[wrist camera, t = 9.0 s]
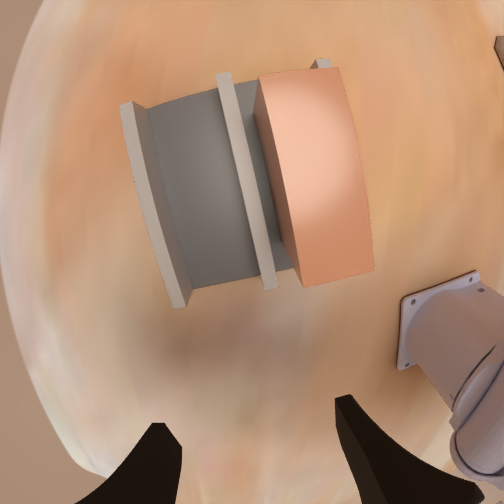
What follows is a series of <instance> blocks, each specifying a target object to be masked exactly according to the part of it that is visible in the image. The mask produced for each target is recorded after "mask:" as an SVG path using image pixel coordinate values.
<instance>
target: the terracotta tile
mask: <svg viewBox="0 0 504 504" xmlns="http://www.w3.org/2000/svg"><path fill="white" fill-rule="evenodd" d="M253 117H254V121H255V125H256V129H257V134H258V138H259V142H260V146H261V151H262V155H263V160H264V164H265V169H266V173H267V178H268V182H269V187H270V191H271V196H272V201H273V206H274V210H275V215H276V220H277V225H278V230H279V235H280V240H281V243H282V245H283V247H284V249H285V251H286V253H287V255H288V257H289V259H290V261H291V263H292V265H293V267H294V269H295V272H296V274H297V276H298V278H299V280H300V282H301V284H302V286H303V288H306V287H310V286H315V285H319V284H323V283H327V282H331V281H335V280H339V279H343V278H347V277H351V276H355V275H359V274H362V273H366V272H370V271H374V256H373V243H372V233H371V223H370V214H369V206H368V199H367V192H366V185H365V179H364V173H363V167H362V161H361V156H360V151H359V146H358V141H357V136H356V131H355V127H354V123H353V118H352V114H351V110H350V106H349V102H348V98H347V95H346V91H345V87H344V84H343V80H342V77H341V74H340V70H339V67H331V68H316V69H304V70H295V71H286V72H279V73H272V74H265V75H259V76H258V82H257V89H256V95H255V102H254V109H253Z"/></svg>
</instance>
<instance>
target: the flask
mask: <svg viewBox="0 0 504 504" xmlns="http://www.w3.org/2000/svg"><path fill="white" fill-rule="evenodd" d="M495 49H496V51H497V53H498V55H499V58H500V60H501V62H502V65H503V67H504V36H497V41H496V46H495Z"/></svg>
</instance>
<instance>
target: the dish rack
mask: <svg viewBox="0 0 504 504" xmlns="http://www.w3.org/2000/svg"><path fill="white" fill-rule="evenodd" d="M331 67H332V64H331V61H330V58H329V59H316V60H315V61H314V63H313V64H312V66H311V67H310V69H316V68H331ZM215 77H216V81H217V86H218V88H216V89H212V90H208V91H204V92H200V93H197V94H193V95H189V96H186V97H182V98H179V99H176V100H173V101H170V102H166V103H163V104H160V105H157V106H154V107H152V108H149V109H146V108H144V107H142V106H141V105H139V104H137V103H135V102H133V101H130V102H128V103H125V104H123V105H120V106H119V108H120V114H121V120H122V125H123V131H124V136H125V141H126V146H127V151H128V155H129V160H130V164H131V169H132V173H133V177H134V182H135V186H136V190H137V194H138V198H139V201H140V205H141V209H142V213H143V216H144V220H145V223H146V227H147V230H148V234H149V237H150V240H151V244H152V247H153V250H154V253H155V256H156V260H157V263H158V266H159V269H160V272H161V275H162V278H163V281H164V284H165V286H166V289H167V292H168V295H169V298H170V300H171V303H172V306H173V309H177V308H183V307H186V306H187V304H188V301H189V299H190V296H191V294H192V291H193V289H196V288H201V287H206V286H211V285H216V284H221V283H226V282H231V281H235V280H240V279H245V278H249V277H254V276H259V275H261V276H262V281H263V285H264V290H265V291H268V290H272V289H277V288H279V286H278V281H277V276H276V272H277V271H281V270H286V269H290V268H294V267H293V265H292V263H291V261H290V259H289V257H288V255H287V253H286V251H285V249H284V247H283V245H282V243H281V240H280V235H279V230H278V225H277V220H276V215H275V210H274V206H273V201H272V196H271V191H270V187H269V182H268V178H267V173H266V169H265V164H264V160H263V155H262V151H261V146H260V142H259V138H258V134H257V129H256V125H255V121H254V117H253V109H254V102H255V95H256V89H257V82H258V80H254V81H249V82H243V83H238V84H233V80H232V76H231V72H230V71H229V72H224V73H220V74H215Z"/></svg>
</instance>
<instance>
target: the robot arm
mask: <svg viewBox="0 0 504 504" xmlns="http://www.w3.org/2000/svg"><path fill="white" fill-rule="evenodd" d="M413 299H414V300H413ZM412 300H413V302H411V301H412ZM416 364H417V365H418V366H419V367H420V369H421V370H422V371H423V372H424V374H425V375H426V376H427V378H428V379H429V380H430V382H431V383H432V385H433V386H434V387H435V389H436V390H437V391H438V393H439V394H440V395H441V397H442V398H443V400H444V401H445V402H446V404H447V405H448V407H449V408H450V409H451V411H452V412H453V416H452V417H451V419H450V420H449V423H450V424H451V426H452V427H453V429H454V430H455V431H454V432H453V434H452V436H451V439H450V453H451V456H452V459H453V461H454V463H455V465H456V466H457V468H458V469H459V470H460V471H461V472H462V473H463V474H464V475H466V476H467V477H469V478H471V479H474V480H478V481H486V482H489V483H491V484H493V485H495V486H496V487H498V488H499V489H500V490H504V296H502V295H501V294H499V293H498V292H496V291H494V290H493V289H491V288H490V287H488V286H486V285H485V284H483V283H482V282H480V272H478V271H474V272H471V273H469V274H466V275H464V276H462V277H459V278H456V279H454V280H451V281H449V282H446V283H443V284H441V285H438V286H435V287H433V288H430V289H427V290H424V291H421V292H419V293H416V294H413V295H410V296H407V297H405V298H404V299H403V300H402V304H401V325H400V339H399V350H398V359H397V369H398V370H400V371H401V370H404V369H406V368H409V367H411V366H414V365H416ZM335 416H336V428H337V432H338V436H339V440H340V443H341V447H342V449H343V452H344V454H345V457H346V459H347V462H348V464H349V467H350V469H351V472H352V474H353V477H354V479H355V482H356V484H357V487H358V490H359V493H360V497H361V501H362V504H479V503H481V502H482V501H483V500H484V498H485V497H484V495H483V493H482V491H481V490H480V489H479V487H478V486H477V485H476V484H475V483H474V482H471V481H467V480H464V479H461V478H458V477H455V476H453V475H450V474H448V473H446V472H443V471H441V470H439V469H437V468H435V467H433V466H431V465H429V464H427V463H426V462H424V461H422V460H420V459H419V458H417V457H416V456H414V455H413V454H411V453H410V452H408V451H407V450H405V449H404V448H403V447H401V446H400V445H399V444H398V443H396V442H395V441H394V440H393V439H392V438H391V437H389V436H388V435H387V434H386V433H385V432H384V431H383V430H382V429H381V428H380V427H379V426H378V425H377V424H376V423H375V422H374V421H373V420H372V419H371V418H370V417H369V416H368V415H367V414H366V413H365V411H364V410H363V409H362V408H361V407H360V406H359V404H358V403H357V402H356V400H355V399H354V398H353V396H352V395H350V394H348V395H345V396H341V397H338V398H335ZM181 466H182V446H181V445H180V444H179V442H178V441H177V440H176V438H175V437H174V436H173V434H172V433H171V432H170V430H169V429H168V427H167V426H166V424H165V423H152V424H151V425H150V427H149V428H148V429H147V431H146V432H145V433H144V435H143V436H142V437H141V439H140V440H139V442H138V443H137V444H136V446H135V447H134V448H133V450H132V451H131V452H130V454H129V455H128V456H127V457H126V459H125V460H124V461H123V462H122V464H121V465H120V466H119V467H118V468H117V469H116V470H115V472H114V473H113V474H112V475H111V476H110V477H109V478H108V479H107V480H106V481H105V482H104V483H103V484H101V485H100V486H99V487H98V488H97V489H95V490H94V491H93V492H91V493H90V494H89V495H88V496H86V497H85V498H83V499H82V500H80V501H78V502H77V503H75V504H175V501H176V495H177V489H178V484H179V478H180V472H181ZM497 504H504V503H503V501H499V502H498V503H497Z"/></svg>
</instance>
